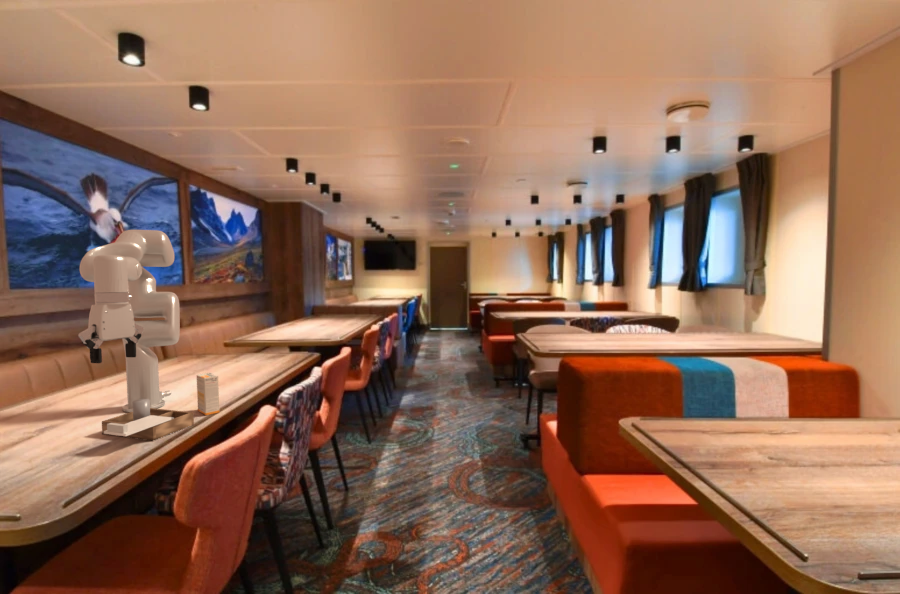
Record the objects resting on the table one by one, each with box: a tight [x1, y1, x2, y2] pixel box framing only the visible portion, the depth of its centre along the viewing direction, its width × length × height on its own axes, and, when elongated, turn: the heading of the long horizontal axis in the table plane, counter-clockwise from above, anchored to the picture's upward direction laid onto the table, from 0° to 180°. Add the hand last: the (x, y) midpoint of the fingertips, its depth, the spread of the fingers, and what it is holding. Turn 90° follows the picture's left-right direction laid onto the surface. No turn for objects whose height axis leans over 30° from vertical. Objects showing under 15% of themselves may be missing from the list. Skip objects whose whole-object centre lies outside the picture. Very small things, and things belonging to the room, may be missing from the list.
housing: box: [101, 408, 195, 441], centre depth 135 cm, size 14×20×4 cm
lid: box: [103, 415, 171, 437], centre depth 126 cm, size 14×8×3 cm, turn 164°
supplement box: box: [196, 372, 220, 416], centre depth 152 cm, size 8×5×13 cm, turn 47°
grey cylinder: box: [128, 399, 150, 423], centre depth 136 cm, size 6×7×8 cm
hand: (114, 360), depth 122 cm, fingers open, 9 cm apart
